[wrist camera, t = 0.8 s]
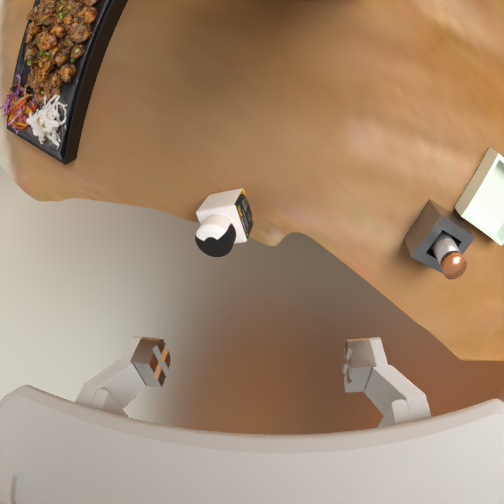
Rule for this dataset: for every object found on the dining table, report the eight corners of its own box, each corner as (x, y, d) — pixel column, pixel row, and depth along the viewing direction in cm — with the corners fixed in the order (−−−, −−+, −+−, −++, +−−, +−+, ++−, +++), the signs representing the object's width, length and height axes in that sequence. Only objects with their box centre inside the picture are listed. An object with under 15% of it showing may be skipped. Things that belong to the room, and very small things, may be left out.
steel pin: (432, 215, 46) (454, 253, 37) (447, 225, 46) (471, 263, 37) (420, 233, 49) (438, 273, 39) (435, 242, 49) (455, 282, 40)
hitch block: (429, 199, 45) (440, 215, 40) (462, 220, 45) (474, 237, 40) (403, 238, 50) (411, 257, 46) (437, 256, 51) (445, 275, 46)
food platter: (77, 157, 54) (47, 176, 46) (18, 123, 50) (-11, 137, 42) (151, -39, 27) (119, -53, 19) (69, -44, 24) (37, -49, 16)
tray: (489, 146, 36) (498, 153, 33) (527, 184, 36) (536, 192, 33) (454, 207, 44) (461, 216, 41) (494, 236, 45) (501, 245, 42)
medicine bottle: (254, 221, 55) (240, 260, 45) (220, 226, 57) (199, 264, 48) (244, 187, 51) (226, 220, 42) (208, 194, 53) (183, 227, 44)
